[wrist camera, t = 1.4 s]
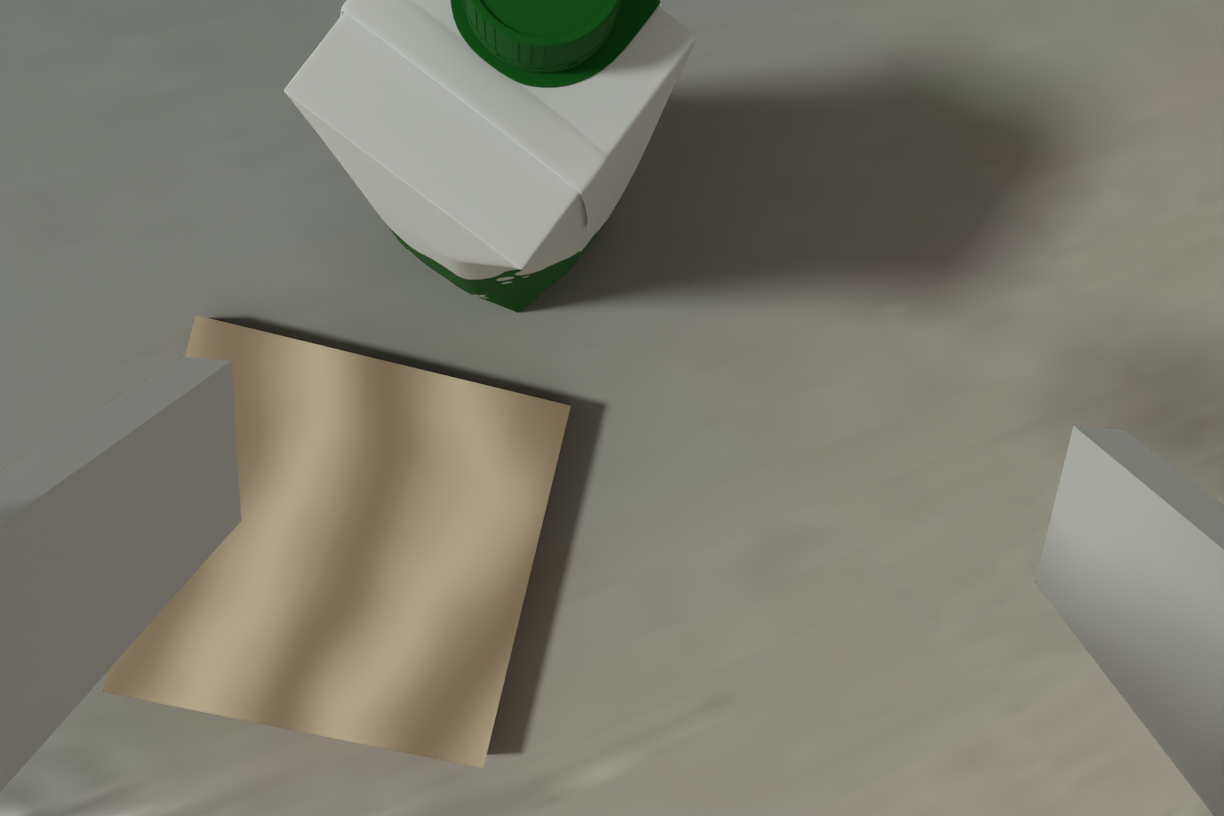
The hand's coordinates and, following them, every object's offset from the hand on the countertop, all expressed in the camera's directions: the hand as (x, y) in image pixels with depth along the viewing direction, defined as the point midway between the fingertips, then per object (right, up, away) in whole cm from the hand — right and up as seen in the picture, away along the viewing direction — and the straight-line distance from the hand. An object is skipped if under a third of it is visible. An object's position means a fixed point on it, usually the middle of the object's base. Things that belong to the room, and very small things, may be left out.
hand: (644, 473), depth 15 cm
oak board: (-12, -5, +27) cm, 30 cm away
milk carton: (-5, +10, +28) cm, 30 cm away
